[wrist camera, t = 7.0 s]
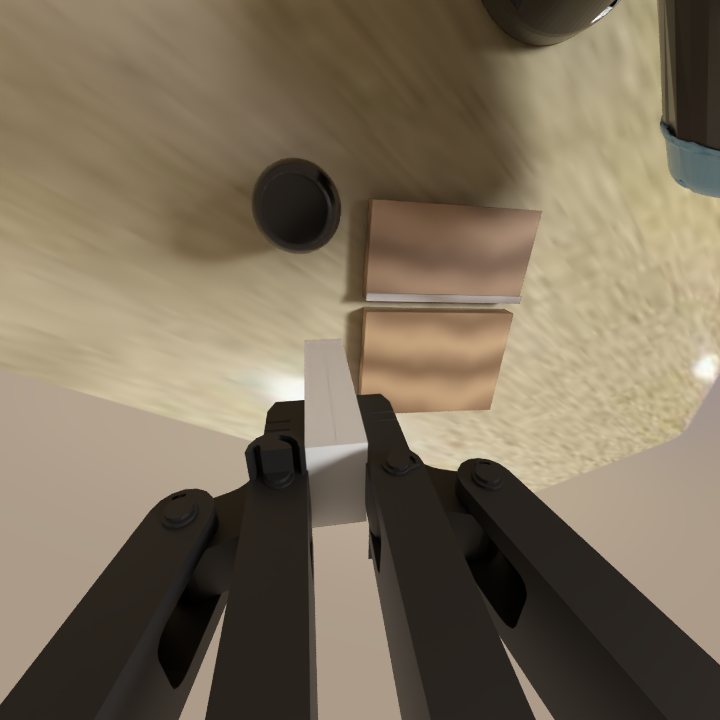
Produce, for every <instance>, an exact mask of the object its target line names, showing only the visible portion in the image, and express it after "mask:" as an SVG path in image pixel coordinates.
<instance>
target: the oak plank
mask: <svg viewBox="0 0 720 720" xmlns="http://www.w3.org/2000/svg"><path fill="white" fill-rule="evenodd" d="M512 317H513V313H511V312H509V311H507V310H505V309H459V308H393V307H364V310H363V325H362V341H361V357H360V373H359V388H358V395H367V394H382V395H383V396H384V397H385V398H386V399H388V400H389V401H390V403H391V406H392V408H393V410H394V413H414V412H440V411H466V410H490V407H491V403H492V399H493V395H494V391H495V386H496V382H497V378H498V374H499V370H500V366H501V362H502V358H503V354H504V350H505V346H506V342H507V338H508V334H509V330H510V325H511V321H512Z"/></svg>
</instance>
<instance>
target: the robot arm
mask: <svg viewBox="0 0 720 720" xmlns="http://www.w3.org/2000/svg"><path fill="white" fill-rule="evenodd" d="M620 1H621V0H483V2H484V4H485V6H486V8H487V10H488V12H489V13H490V15H491V16H492V18H493V19H494V20H495V22H496V23H497V24H498V25H499V26H500V27H501V28H502V29H503V30H504V31H505V32H506V33H507V34H509V35H510V36H512V37H513V38H515V39H517V40H519V41H521V42H524V43H527V44H531V45H552V44H556V43H559V42H562V41H565V40H567V39H569V38H571V37H573V36H575V35H577V34H578V33H580V32H582V31H583V30H585V29H587V28H588V27H590V26H592V25H593V24H595V23H596V22H598V21H599V20H600V19H602V18H603V17H604V16H605V15H606V14H607V13H609V12H610V11H611V10H612V9H613V8H614V7H615V6H616V5H617V4H618V3H619V2H620ZM657 6H658V23H659V41H660V58H661V85H662V113H663V115H662V117H661V122H660V129H661V133H662V134H663V136H664V138H665V141H666V149H667V158H668V167H669V171H670V174H671V176H672V177H673V179H674V180H675V181H676V182H677V183H678V184H680V185H681V186H683V187H685V188H688V189H690V190H691V191H693V192H695V193H698V194H701V195H705V196H711V197H717V198H720V0H657ZM245 456H246V462H247V468H248V473H249V478H250V480H249V481H248V482H247V483H246V484H245V485H243V486H242V487H240V488H239V489H236V490H234V491H232V492H229V493H227V494H224V495H221V496H218V497H215V498H213V497H212V496H211V495H210V494H209V493H208V492H207V491H204V490H200V489H185V490H182V491H179V492H176V493H173V494H171V495H169V496H168V497H166V498H164V499H163V500H161V501H160V502H159V503H158V504H157V505H156V506H155V507H154V508H153V509H152V510H150V512H149V513H148V514H147V516H146V517H145V518H144V520H143V521H142V522H141V523H140V525H139V526H138V527H137V529H136V530H135V531H134V532H133V534H132V535H131V536H130V538H129V539H128V540H127V542H126V543H125V544H124V546H123V547H122V548H121V549H120V551H119V552H118V553H117V555H116V556H115V557H114V558H113V560H112V561H111V562H110V564H109V565H108V566H107V567H106V569H105V570H104V571H103V573H102V574H101V575H100V576H99V578H98V579H97V580H96V582H95V583H94V584H93V586H92V587H91V588H90V589H89V591H88V592H87V593H86V595H85V596H84V597H83V598H82V600H81V601H80V602H79V604H78V605H77V606H76V608H75V609H74V610H73V612H72V613H71V614H70V615H69V617H68V618H67V619H66V621H65V622H64V623H63V624H62V626H61V627H60V628H59V630H58V631H57V632H56V633H55V635H54V636H53V637H52V639H51V640H50V641H49V643H48V644H47V645H46V646H45V648H44V649H43V650H42V652H41V653H40V654H39V656H38V657H37V658H36V659H35V661H34V662H33V663H32V665H31V666H30V667H29V668H28V670H27V671H26V672H25V674H24V675H23V676H22V678H21V679H20V680H19V681H18V683H17V684H16V685H15V687H14V688H13V689H12V690H11V692H10V693H9V694H8V696H7V697H6V698H5V699H4V701H3V702H2V703H1V705H0V720H179V717H180V715H181V712H182V710H183V708H184V705H185V703H186V700H187V698H188V695H189V693H190V691H191V688H192V686H193V683H194V681H195V678H196V676H197V674H198V671H199V669H200V666H201V664H202V661H203V659H204V656H205V654H206V651H207V649H208V647H209V644H210V642H211V640H212V637H213V635H214V632H215V630H216V627H217V625H218V623H219V620H220V618H221V615H222V613H223V610H224V608H225V605H226V603H227V605H226V610H225V616H224V622H223V626H222V632H221V638H220V643H219V648H218V653H217V658H216V664H215V669H214V674H213V680H212V685H211V691H210V696H209V701H208V706H207V712H206V717H205V720H318V704H317V669H316V633H315V632H316V631H315V597H314V596H315V595H314V561H313V539H312V528H314V527H322V526H331V525H339V524H346V523H355V522H363V521H366V511H367V516H368V522H369V559H373V565H374V570H375V576H376V581H377V587H378V592H379V598H380V603H381V609H382V614H383V619H384V625H385V630H386V636H387V641H388V647H389V652H390V658H391V663H392V669H393V674H394V680H395V685H396V690H397V696H398V702H399V707H400V712H401V718H402V720H536V719H535V717H534V715H533V712H532V710H531V708H530V706H529V703H528V701H527V699H526V696H525V694H524V692H523V690H522V687H521V685H520V683H519V680H518V678H517V676H516V674H515V671H514V669H513V667H512V665H511V662H510V660H509V658H508V655H507V653H506V651H505V648H504V646H503V644H502V641H501V639H502V640H503V642H504V644H505V645H506V647H507V648H508V650H509V651H510V653H511V654H512V656H513V657H514V659H515V660H516V662H517V663H518V665H519V666H520V668H521V669H522V671H523V672H524V674H525V675H526V677H527V678H528V680H529V682H530V683H531V685H532V686H533V688H534V689H535V691H536V692H537V694H538V695H539V697H540V698H541V700H542V701H543V703H544V704H545V706H546V707H547V709H548V710H549V712H550V713H551V715H552V716H553V718H554V719H555V720H720V665H719V664H718V663H717V662H716V661H715V660H714V659H713V658H712V657H711V656H710V655H708V654H707V653H706V652H705V651H704V650H703V649H702V648H701V647H700V646H699V645H697V643H695V642H694V641H693V640H692V639H691V638H690V637H689V636H688V635H687V634H686V633H685V632H683V631H682V630H681V629H680V628H679V627H678V626H677V625H676V624H675V623H674V622H673V621H672V620H670V619H669V618H668V617H667V616H666V615H665V614H664V613H663V612H662V611H661V610H660V609H659V608H657V607H656V606H655V605H654V604H653V603H652V602H651V601H650V600H649V599H648V598H647V597H646V596H644V595H643V594H642V593H641V592H640V591H639V590H638V589H637V588H636V587H635V586H633V584H631V583H630V582H629V581H628V580H627V579H626V578H625V577H624V576H623V575H622V574H620V573H619V572H618V571H617V570H616V569H615V568H614V567H613V566H612V565H611V564H610V563H608V561H606V560H605V559H604V558H603V557H602V556H601V555H600V554H599V553H598V552H597V551H596V550H595V549H593V548H592V547H591V546H590V545H589V544H588V543H587V542H586V541H585V540H584V539H583V538H582V537H580V536H579V535H578V534H577V533H576V532H575V531H574V530H573V529H572V528H571V527H570V526H568V525H567V524H566V523H565V522H564V521H563V520H562V519H561V518H560V517H559V516H558V515H556V514H555V513H554V512H553V511H552V510H551V509H550V508H549V507H548V506H547V505H546V504H545V503H544V502H542V501H541V500H540V499H539V498H538V497H537V496H536V495H535V494H534V493H533V492H532V491H531V490H529V489H528V488H527V487H526V486H525V485H524V484H523V483H522V482H521V481H520V480H519V479H517V478H516V477H515V476H514V475H513V474H512V473H511V472H510V471H509V470H507V469H506V468H505V467H503V466H502V465H500V464H499V463H496V462H494V461H491V460H488V459H481V458H475V459H468V460H467V461H465V462H463V463H461V465H460V467H459V468H458V471H450V470H443V469H438V468H433V467H430V466H428V465H425V464H424V463H423V461H422V460H421V459H420V457H419V456H418V455H417V454H415V453H414V452H412V451H411V450H410V449H409V447H408V445H407V442H406V440H405V437H404V435H403V432H402V430H401V427H400V425H399V423H398V421H397V418H396V415H395V413H394V410H393V408H392V406H391V403H390V401H389V400H388V399H386V398H385V397H384V396H383V395H382V394H367V395H356V394H355V390H354V386H353V382H352V378H351V374H350V370H349V366H348V362H347V358H346V355H345V351H344V347H343V343H342V339H324V340H305V400H299V401H285V402H275V403H274V405H273V406H272V407H271V408H270V409H269V411H268V412H267V418H266V424H265V430H264V435H263V436H260V437H258V438H256V439H255V440H254V441H253V442H252V443H251V444H249V445H248V447H247V449H246V451H245ZM499 636H500V637H499ZM500 638H501V639H500Z"/></svg>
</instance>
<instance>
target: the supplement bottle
mask: <svg viewBox="0 0 720 720" xmlns="http://www.w3.org/2000/svg"><path fill="white" fill-rule="evenodd" d="M252 211H253V216H254V219H255V222H256V224H257V226H258V228H259V230H260V231H261V233H262V234H263V236H264V237H265V238H266V239H267V240H268V241H269V242H270V243H271V244H273V245H274V246H276V247H277V248H279V249H281V250H283V251H286V252H289V253H294V254H305V253H310V252H313V251H316V250H318V249H320V248H321V247H323V246H324V245H325V244H327V243H328V242H329V241H330V239H331V238H332V237H333V235H334V234H335V232H336V230H337V228H338V225H339V221H340V216H341V203H340V197H339V194H338V191H337V188H336V186H335V184H334V182H333V181H332V179H331V178H330V177H329V175H328V174H327V173H326V172H325V171H324V170H323V169H322V168H320V167H319V166H318V165H316V164H314V163H312V162H310V161H308V160H305V159H300V158H286V159H281V160H279V161H276V162H274V163H272V164H271V165H269V166H268V167H267V168H266V169H265V170H264V171H263V172H262V173H261V175H260V176H259V178H258V179H257V181H256V183H255V186H254V189H253V194H252Z"/></svg>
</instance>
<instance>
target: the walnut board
mask: <svg viewBox="0 0 720 720" xmlns="http://www.w3.org/2000/svg"><path fill="white" fill-rule="evenodd" d="M541 213H542V211H536V210H522V209H507V208H493V207H479V206H464V205H450V204H435V203H421V202H406V201H392V200H377V199H369V208H368V223H367V238H366V253H365V268H364V283H363V296H364V298H365V299H366V301H404V302H459V303H514V304H520V301H521V296H520V293H521V289H522V285H523V281H524V278H525V274H526V270H527V266H528V262H529V259H530V255H531V251H532V247H533V244H534V240H535V236H536V232H537V228H538V225H539V221H540V217H541Z"/></svg>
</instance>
